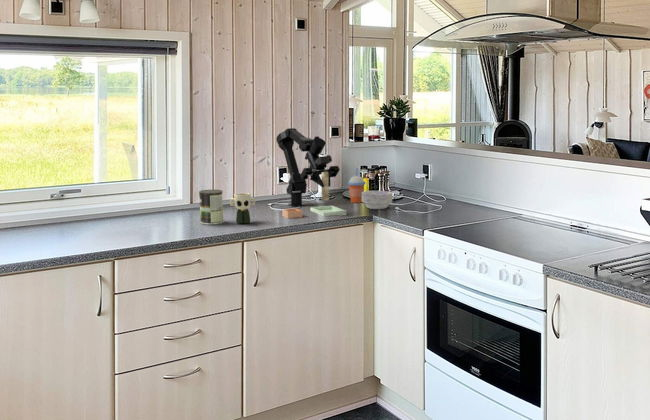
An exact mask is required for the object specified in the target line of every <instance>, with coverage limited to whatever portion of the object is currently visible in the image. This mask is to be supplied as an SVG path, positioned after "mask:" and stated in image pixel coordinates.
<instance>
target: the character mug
mask: <svg viewBox="0 0 650 420" xmlns="http://www.w3.org/2000/svg"><path fill="white" fill-rule="evenodd" d="M233 196H234V197H231V198H229V205H230V207H231V206H232V207H233V206H234V208H235V210H236V209H237V211H236V218H235V219H236V220H235V221H236V223H237V224H243V223H244V224H248V223H250V222H251V215H250V210H249V209H251V206H255V205H256V198H255V197H251V193H248V192H238V193H234V194H233ZM233 201H234V202H233ZM251 201H252V202H251Z"/></svg>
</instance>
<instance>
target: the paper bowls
mask: <svg viewBox="0 0 650 420" xmlns="http://www.w3.org/2000/svg"><path fill="white" fill-rule="evenodd" d="M361 203H364V204H365V207H366V208H368V209H371V210H384V209H387V208H388V207H389V206H390V205H389V204H392V203H393V192H392V191H387V190H364V192H362V202H361Z"/></svg>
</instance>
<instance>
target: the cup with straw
mask: <svg viewBox="0 0 650 420" xmlns="http://www.w3.org/2000/svg"><path fill="white" fill-rule="evenodd" d="M358 170H359V169H358V167H355V175H353V176H352V177H350V179H349V181H347V184H348V187H349V188H348V190H349V198H350V203H352V204H360V203H363V202H362V192H364V191H365V185H366V181H365V180H364V178H363V177H362V176H360V175H359V174H358Z"/></svg>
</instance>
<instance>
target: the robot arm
mask: <svg viewBox="0 0 650 420" xmlns="http://www.w3.org/2000/svg"><path fill="white" fill-rule="evenodd" d="M275 140H276V143H277V144H278V148H280V150H281V151H282V152H283V154H284V158H285V162H286V165H287V169H288V173H289V180H288V186H287V188H286V194H288V195H290V203H288V206H291V207H303V206H305V204H304V203H303V194H306V191H307V187H308V184H307V181H306V180H308V178H309V177H310V178H309V180H310V181H313V182H314V183H316V184H317V185H319V186H320V187H321V188H322V187H324V185H323V182H322V177H321V176H322V172H328V185H329V187H331V178H335V177H336V178H337V176H338V173H339V172H340V170H341V169H340V167H339V166H338V165H331V166H329V168H327V166H328V164H330V163H332V161H333V158H332V156H331V155H329V154H328V155H325V156H322V155H321V156H320V154H322V152H323V150H324V148H325V147H326V144H327V143H326V141H325V140H324V139H323V138H321V137H320V136H319V135H317V136H314V138H311V137H307V136H305V135H303V134H302V133H301V132H299V131H298V129H297V128H295V127H292V128H289V127H288V128H286V129H285V130H283V131H282V132H280V133H279V134H278V135H277V136H276V139H275ZM295 143H296V144H297V145H298V149H299V150H300V152H302V153H304V152H305V155H304V161H305V160H307V161H308V163H309V167H304V168H302V171H301V172H300V170H299V166H298V164H297V160H296V156H295V155H296V154H295V151H294V148H293V147H294V145H295Z"/></svg>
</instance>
